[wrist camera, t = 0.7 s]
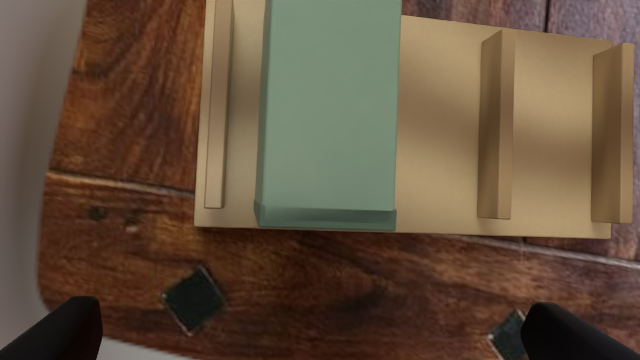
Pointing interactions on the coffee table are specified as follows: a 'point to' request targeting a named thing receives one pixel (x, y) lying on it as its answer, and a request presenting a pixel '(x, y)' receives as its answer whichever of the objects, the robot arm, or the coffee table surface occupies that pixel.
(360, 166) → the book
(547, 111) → the rack
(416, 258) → the coffee table surface
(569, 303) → the coffee table surface
